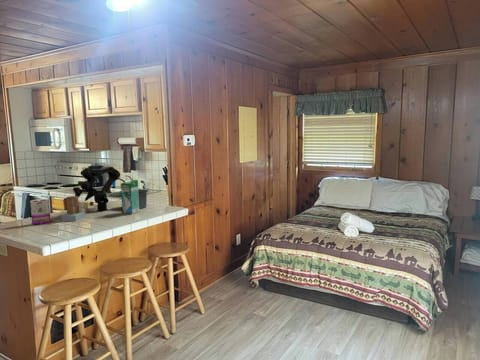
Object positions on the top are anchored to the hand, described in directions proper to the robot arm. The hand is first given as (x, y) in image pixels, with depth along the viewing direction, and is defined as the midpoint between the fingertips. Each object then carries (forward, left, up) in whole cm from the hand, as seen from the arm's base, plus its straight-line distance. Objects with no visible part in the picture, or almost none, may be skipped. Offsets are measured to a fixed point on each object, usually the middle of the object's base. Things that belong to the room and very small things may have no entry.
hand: (80, 200), depth 257 cm
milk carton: (-26, +23, -12) cm, 37 cm away
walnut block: (+7, +1, -8) cm, 11 cm away
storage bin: (-43, +11, -12) cm, 46 cm away
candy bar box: (+25, -8, -12) cm, 29 cm away
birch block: (-11, -12, -12) cm, 20 cm away
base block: (+7, +1, -13) cm, 14 cm away
